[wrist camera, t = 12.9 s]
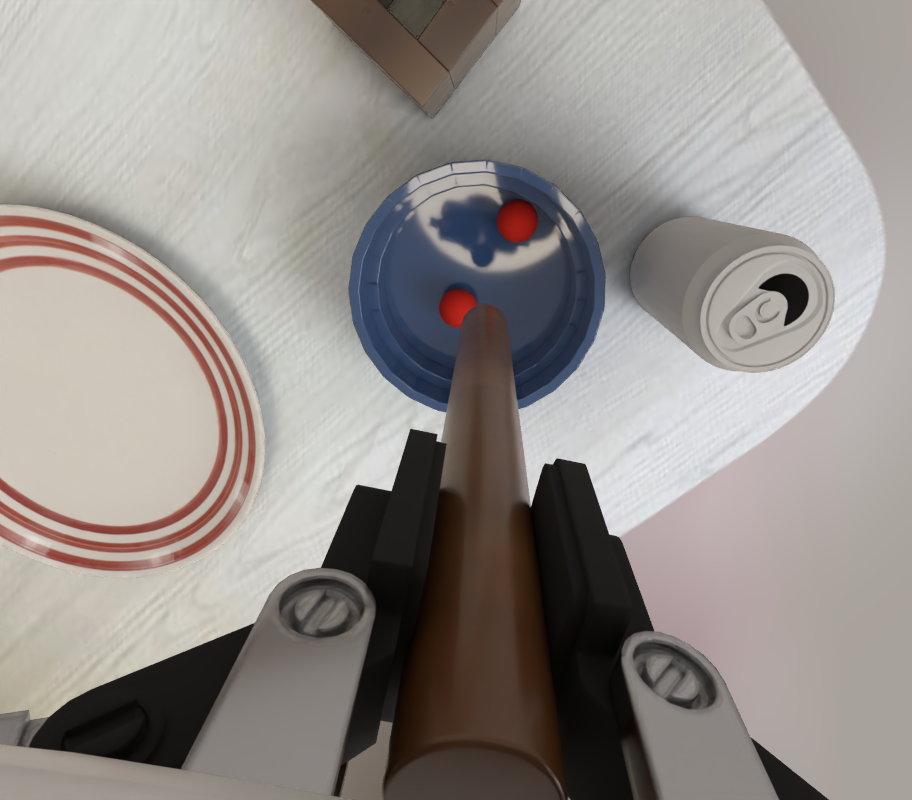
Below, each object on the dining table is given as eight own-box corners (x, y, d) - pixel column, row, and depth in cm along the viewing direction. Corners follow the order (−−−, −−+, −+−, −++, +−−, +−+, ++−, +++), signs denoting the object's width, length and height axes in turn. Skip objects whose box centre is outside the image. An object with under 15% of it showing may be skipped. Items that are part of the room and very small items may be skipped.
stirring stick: (516, 324, 24) (609, 809, 6) (486, 356, 25) (480, 887, 6) (482, 293, 24) (466, 711, 5) (452, 327, 24) (343, 804, 6)
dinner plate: (143, 610, 48) (119, 640, 45) (-164, 392, 41) (-217, 409, 38) (357, 411, 40) (347, 431, 37) (21, 101, 33) (-26, 93, 30)
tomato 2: (543, 238, 34) (549, 203, 32) (517, 256, 32) (522, 220, 31) (512, 221, 35) (516, 186, 33) (487, 238, 33) (489, 202, 32)
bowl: (634, 272, 35) (659, 289, 30) (483, 422, 40) (484, 459, 35) (468, 108, 32) (465, 95, 27) (324, 290, 37) (299, 309, 32)
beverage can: (749, 273, 35) (873, 319, 24) (662, 337, 37) (740, 407, 26) (694, 192, 33) (800, 201, 22) (606, 263, 35) (663, 304, 24)
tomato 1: (463, 334, 36) (490, 310, 35) (448, 336, 34) (475, 310, 33) (442, 306, 36) (467, 281, 35) (425, 306, 34) (451, 280, 33)
